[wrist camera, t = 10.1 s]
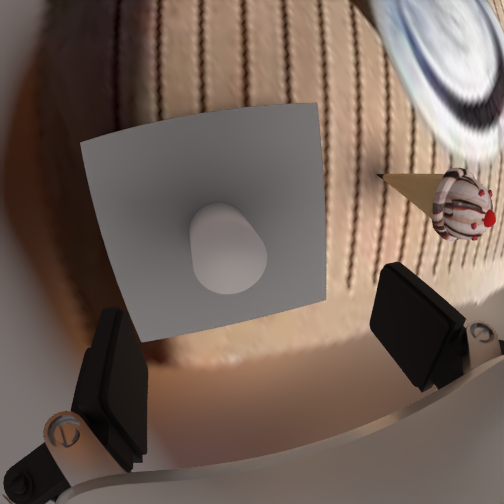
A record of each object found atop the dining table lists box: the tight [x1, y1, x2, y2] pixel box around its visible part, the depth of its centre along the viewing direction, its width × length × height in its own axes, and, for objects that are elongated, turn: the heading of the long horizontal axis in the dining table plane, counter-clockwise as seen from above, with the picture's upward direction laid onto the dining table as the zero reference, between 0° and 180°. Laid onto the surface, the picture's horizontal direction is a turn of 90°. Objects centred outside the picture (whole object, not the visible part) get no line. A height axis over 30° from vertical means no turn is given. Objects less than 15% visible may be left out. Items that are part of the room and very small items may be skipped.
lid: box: [80, 103, 326, 342], centre depth 18 cm, size 16×16×6 cm
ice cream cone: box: [377, 168, 496, 241], centre depth 21 cm, size 6×6×15 cm
